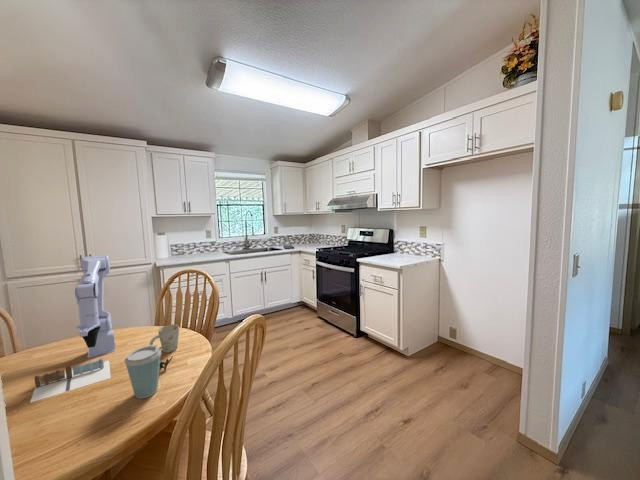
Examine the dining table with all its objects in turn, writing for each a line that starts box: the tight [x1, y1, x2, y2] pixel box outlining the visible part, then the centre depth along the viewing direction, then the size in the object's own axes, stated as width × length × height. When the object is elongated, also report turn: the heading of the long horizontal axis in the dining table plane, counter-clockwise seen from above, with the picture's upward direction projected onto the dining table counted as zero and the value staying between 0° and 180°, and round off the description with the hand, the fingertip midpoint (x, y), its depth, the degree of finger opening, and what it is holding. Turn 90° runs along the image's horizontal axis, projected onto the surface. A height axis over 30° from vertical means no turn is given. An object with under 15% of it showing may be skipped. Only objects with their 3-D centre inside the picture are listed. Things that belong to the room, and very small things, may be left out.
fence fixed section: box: [34, 365, 73, 388], centre depth 99 cm, size 10×2×4 cm, turn 130°
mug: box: [149, 324, 180, 353], centre depth 122 cm, size 8×13×10 cm, turn 148°
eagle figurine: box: [159, 356, 174, 372], centre depth 108 cm, size 8×7×9 cm
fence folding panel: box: [72, 357, 104, 375], centre depth 106 cm, size 9×1×4 cm, turn 130°
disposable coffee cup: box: [124, 344, 163, 399], centre depth 93 cm, size 11×11×15 cm
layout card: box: [30, 360, 112, 404], centre depth 102 cm, size 21×16×1 cm
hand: (91, 346), depth 108 cm, fingers closed
